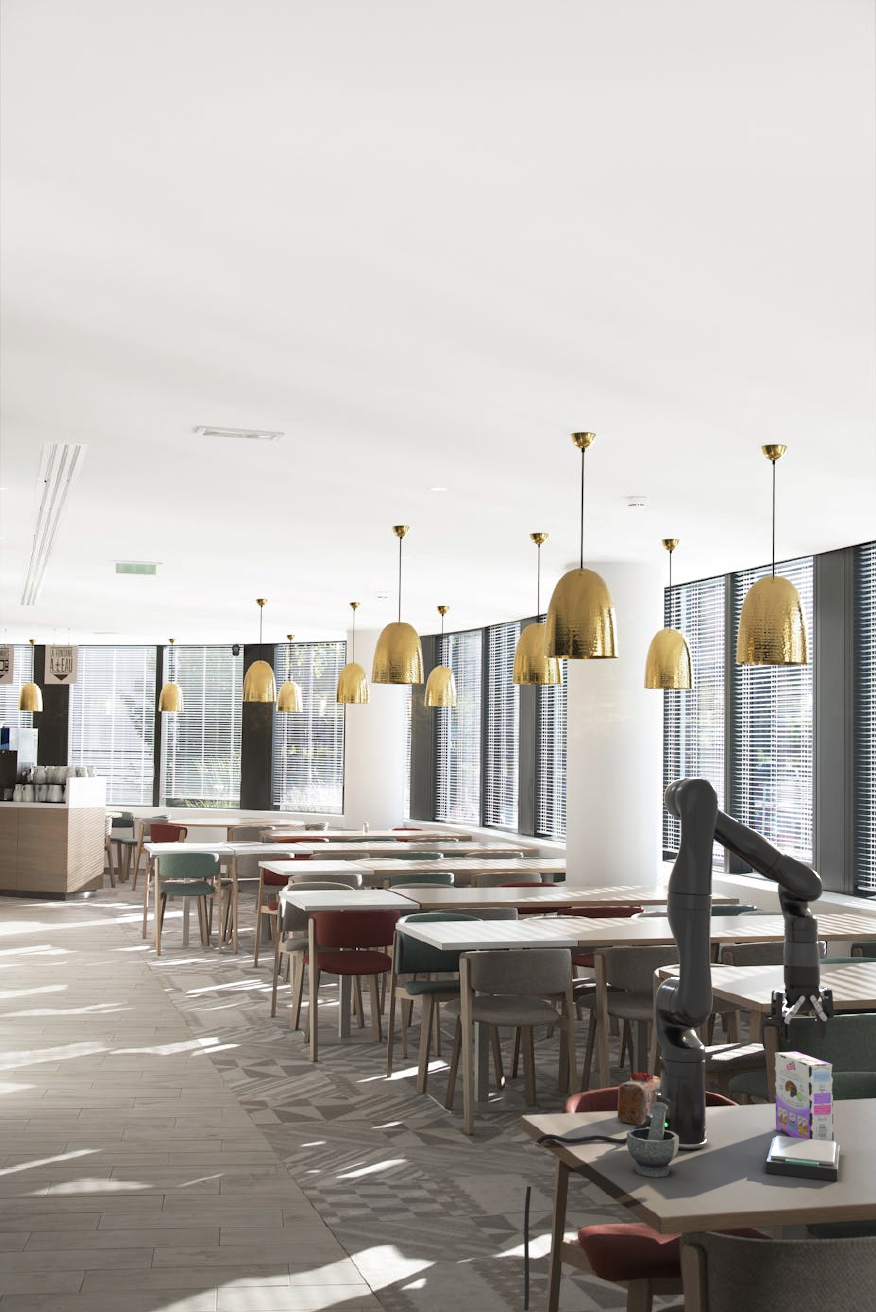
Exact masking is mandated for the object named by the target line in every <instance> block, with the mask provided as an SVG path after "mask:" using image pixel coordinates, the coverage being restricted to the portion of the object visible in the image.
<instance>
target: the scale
mask: <svg viewBox="0 0 876 1312" xmlns="http://www.w3.org/2000/svg"><path fill="white" fill-rule="evenodd" d="M840 1158H841V1145H840V1144H837V1142H836V1141H834V1142H833V1141H823V1140H813V1139H804V1138H794V1137H791V1136H784V1135H783V1136H782V1135H776V1137H773V1138H772V1140H771V1143H770V1147H769V1151H768V1155H767V1158H766V1162H765V1166H766V1167H765V1173H766V1174H769V1175H778V1176H779V1175H780V1176H787V1177H796V1178H805V1179H814V1180H823V1181H831V1182H832V1181H833V1182H838V1181H839V1180H838V1179H839V1169H840V1168H839V1167H840Z"/></svg>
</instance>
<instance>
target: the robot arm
mask: <svg viewBox="0 0 876 1312" xmlns="http://www.w3.org/2000/svg"><path fill="white" fill-rule="evenodd" d="M663 800H664V801H663V802H664V806H665V808H666V810H667V812H668V813H669V814H670V815H671V816H672V817H673V818H675V819H677V820H679V821H680V841H679V842H680V843H679V848H678V851H677V852H678V853H677V855H676V857H675V861H674V864H673V866H672V868H671V872H670V875H669V878H668V882H667V893H666V894H667V895H666V896H667V897H666V916H667V917H666V918H667V921H668V925H669V928H670V931H671V934H672V937H673V939H674V943H675V946H676V950H677V953H678V954H677V955H678V962H679V963H678V964H679V969H678V975H679V976H678V977H669V978H667V979H665V980H663V981H662V982H661V984H660V985H659V986H658V988H657V991H656V993H655V994H656V995H655V1001H654V1016H655V1017H654V1019H655V1037H656V1042H657V1045H658V1047H659V1052H660V1053H659V1054H660V1055H659V1056H660V1057H659V1058H660V1062H659V1068H660V1069H659V1075H660V1076H659V1078H660V1094H657V1096H656V1102H660V1103H663V1104H666V1105H667V1107H668V1108H667V1111H666V1113H665V1126H664V1130H667V1131H671V1132H674V1133H675V1134H677V1135H678V1136H679V1146H678V1150H699V1149H703V1148H705V1147H707V1138H706V1137H707V1136H708V1129H707V1125H706V1121H707V1119H706V1117H707V1116H706V1115H707V1113H706V1111H707V1110H706V1106H707V1105H706V1097H707V1096H706V1095H707V1094H706V1047H705V1045H704V1043H702V1041H701V1040H700V1039H699V1037H698V1035H697V1034H696V1031H695V1029H698V1028H701V1027H703V1026H704V1025H705V1024H707V1022H708V1021H709V1019H710V1018H711V1015H712V1011H713V1005H714V1004H713V1003H714V1002H713V1001H714V996H713V993H714V992H713V981H712V967H711V925H712V907H713V869H714V868H713V867H714V865H713V864H714V863H713V862H714V858H713V857H714V841H716V842H717V843H718V844H720V845H721V846H723V847H724V848H725V849H726V850H728V851H729V852H731V853H732V854H733V855H734V856H736V857H737V858H738V859H739V860H741V861H742V862H744V864H746V865H747V866H748V867H750V868H751V869H752V870H753V871H755V872H756V873H757V874H758V875H760V876H762V877H763V878H765V879H767V880H770V881H773V882H775V883H777V895H778V900H779V901H778V902H779V904H780V905H779V906H780V909H781V910H780V911H781V914H782V917H783V921H784V922H783V923H784V925H783V931H784V932H783V935H784V942H783V950H782V951H783V952H782V953H783V983H784V991H780V990H779V991H778V990H772V991H771V999H770V1019H772V1020H775V1021H777V1022H778V1023H779V1037H780V1038H781V1041H784V1042H791V1024H790V1021H791V1020H792V1018H793V1016H796V1014H797V1012H800V1013H801V1012H805V1011H806V1012H811V1014H812V1015H813V1017H815V1020H814V1030H815V1031H814V1033H815V1034H814V1036H815V1038H816V1039H818V1040H825V1037H826V1035H827V1031H826V1030H827V1021H828V1020H829V1019H832V1018H834V1017H835V1010H834V996H833V995H834V993H833V990H832V989H829V988H827V987H821V989H820V985H821V956H820V955H821V954H820V947H819V923H818V922H819V921H818V918H817V916H816V915H814V914H813V913H812V912H811V910H810V905H809V904H810V903H813V902H816V901H818V900H819V899H820V898H821V897H822V895H823V893H824V883H823V880H822V878H821V876H820V875H819V874H818V873H817V872H816V871H815V870H813V869H812V868H811V867H810V866H808V865H806V864H805V863H803V862H802V861H799V860H798V859H796V858H794V857H793V856H791V855H789V854H787V853H786V852H784V851H783V850H782V849H781V848H780V847H779V846H777V845H776V844H774V843H773V842H772V841H771V840H769V839H768V838H767V837H765V836H764V835H763V834H761V833H760V832H758V831H757V830H755V829H753V828H751V827H749V826H747V825H745V824H743V823H742V822H740V821H738V820H736V819H735V818H733V817H731V816H729V814H727V813H725V812H723V811H722V810H721V809H720V808H719V795H718V792H717V790H716V788H715V786H714V784H713V783H711V781H709V780H708V779H706V778H703V777H685V778H680V779H676V780H674V781H672V782H671V783H670V784H668V786H667V787H666V789H665V791H664V794H663ZM819 999H821V1000H820V1001H821V1005H820V1003H819ZM784 1002H785V1003H784ZM652 1116H653V1114H651V1115H646V1122H644V1123H643V1124H641V1125H637V1126H635V1127H634V1128H633V1129H640V1128H650V1125H651V1120H652ZM546 1140H555V1141H558V1142H561V1143H565V1144H577V1143H583V1142H588V1141H603V1142H604V1141H605V1142H609V1143H614V1144H615V1143H616V1144H627V1137H625V1138H615V1137H611V1136H607V1135H601V1134H593V1135H592V1134H591V1135H585V1136H581V1137H573V1138H572V1137H565V1136H564V1137H563V1136H560V1135H557V1134H553V1133H547V1134H543V1135H542V1136H540V1137H539V1138H538V1139H537V1140H536V1141H535V1142H536V1143H543V1142H544V1141H546ZM531 1194H532V1186H530V1185H529V1186H528V1185H527V1186H526V1195H525V1203H524V1224H523V1225H524V1226H523V1248H524V1251H523V1253H524V1255H523V1256H524V1258H523V1259H524V1303H523V1310H524V1311H529V1307H530V1306H529V1304H530V1246H529V1245H530V1244H529V1243H530V1241H529V1240H530V1239H529V1238H530V1236H529V1235H530V1233H529V1229H530V1228H529V1226H530V1225H529V1223H530V1204H531Z"/></svg>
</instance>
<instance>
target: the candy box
mask: <svg viewBox="0 0 876 1312" xmlns="http://www.w3.org/2000/svg"><path fill="white" fill-rule="evenodd" d="M833 1072H834V1071H833V1064H832V1063H829V1062H827V1061H823V1060H821V1059H818V1058H815V1057H812V1056H809V1055H807V1054H804V1053H801V1052H798V1051H783V1052H782V1051H781V1052H774V1091H775V1094H774V1095H775V1130H777V1131H778V1132H781V1133H782V1134H785V1135H787V1136H788V1137H794V1138H804V1139H813V1140H823V1141H833V1142H835V1141H834V1086H833V1085H834V1083H833V1082H834V1081H833V1080H834V1079H833V1076H834V1073H833Z"/></svg>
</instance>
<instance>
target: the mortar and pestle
mask: <svg viewBox="0 0 876 1312" xmlns="http://www.w3.org/2000/svg"><path fill="white" fill-rule="evenodd" d="M653 1108H654V1111H653V1116H652V1120H651V1125H650V1128H649V1127H646V1128H640V1129H634V1128H632V1129H630V1130H629V1131H627V1132H626V1138H627V1143H626V1146H627V1150H628V1152H629V1154H630V1156H631V1158H632V1159H634V1161H635V1162H636V1165H635V1172H637V1173H638V1174H639V1175H641V1176H645V1177H651V1178H660V1177H661V1178H662V1177H666V1176H668V1175H669V1174H670V1167H669V1165H670V1163H671V1162H673V1161H674V1159H675V1157H676V1156H677V1154H678V1152H679V1149H678V1146H679V1136H678V1135H677V1134H675V1133H674V1132H671V1131H667V1130H664V1126H665V1113H666V1111H667V1108H668V1107H667V1105H666V1104H663V1103H660V1102H656V1103H654V1104H653Z"/></svg>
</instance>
